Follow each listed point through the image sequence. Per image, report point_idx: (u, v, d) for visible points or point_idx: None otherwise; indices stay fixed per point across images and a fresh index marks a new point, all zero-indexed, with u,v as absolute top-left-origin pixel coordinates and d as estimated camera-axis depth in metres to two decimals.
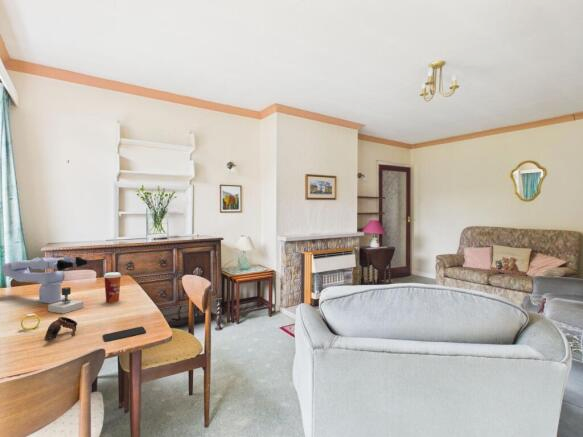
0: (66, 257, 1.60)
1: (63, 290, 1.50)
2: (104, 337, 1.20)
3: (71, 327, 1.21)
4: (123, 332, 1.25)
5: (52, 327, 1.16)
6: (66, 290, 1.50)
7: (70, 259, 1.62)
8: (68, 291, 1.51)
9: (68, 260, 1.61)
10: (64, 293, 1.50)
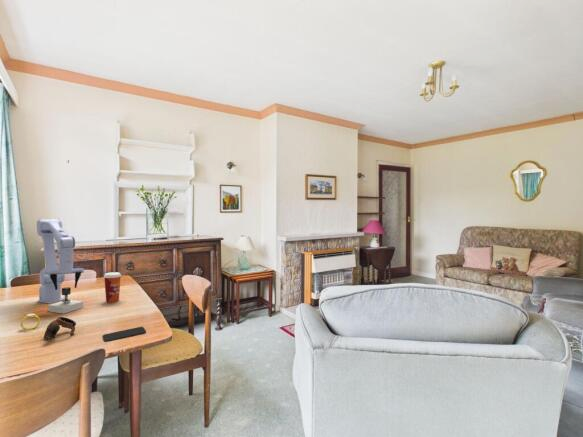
0: (65, 272, 1.48)
1: (63, 290, 1.50)
2: (104, 337, 1.20)
3: (70, 327, 1.21)
4: (123, 332, 1.25)
5: (51, 327, 1.16)
6: (66, 290, 1.50)
7: None
8: (68, 291, 1.51)
9: None
10: (64, 293, 1.50)
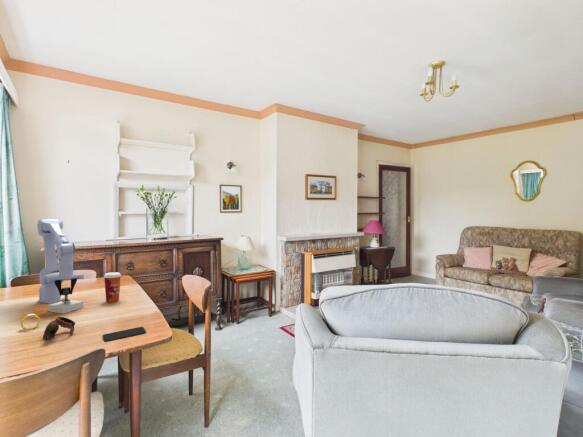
0: (65, 279, 1.48)
1: (63, 290, 1.50)
2: (104, 337, 1.20)
3: (69, 327, 1.21)
4: (123, 332, 1.25)
5: (50, 327, 1.16)
6: (66, 290, 1.50)
7: None
8: (68, 291, 1.51)
9: None
10: (64, 293, 1.50)
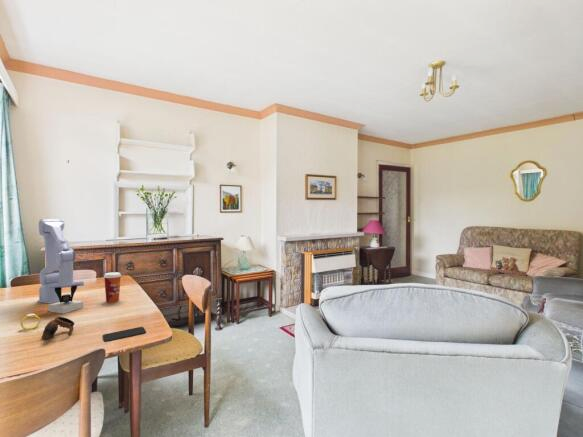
0: None
1: (63, 297, 1.50)
2: (104, 337, 1.20)
3: (68, 327, 1.22)
4: (123, 332, 1.25)
5: (49, 327, 1.16)
6: (66, 297, 1.50)
7: None
8: (68, 298, 1.51)
9: None
10: (64, 300, 1.50)
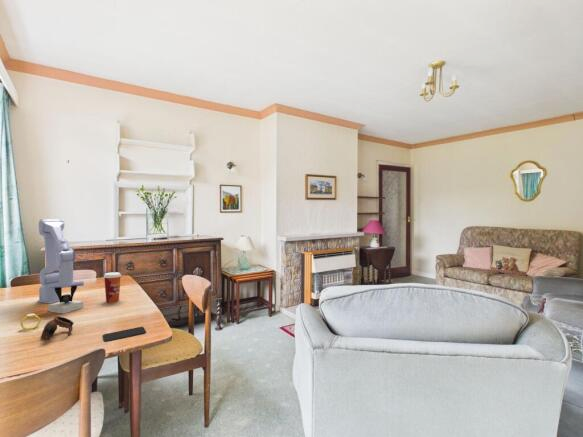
0: None
1: (63, 297, 1.50)
2: (104, 337, 1.20)
3: (67, 327, 1.22)
4: (123, 332, 1.25)
5: (48, 327, 1.16)
6: (66, 297, 1.50)
7: None
8: (68, 298, 1.51)
9: None
10: (64, 300, 1.50)
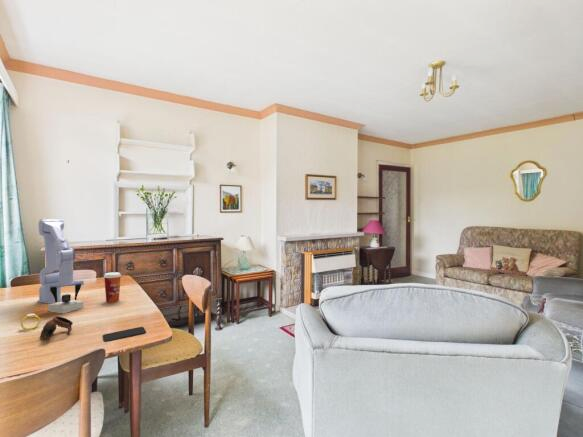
0: None
1: (63, 297, 1.50)
2: (104, 337, 1.20)
3: (66, 326, 1.22)
4: (123, 332, 1.25)
5: (48, 327, 1.16)
6: (66, 297, 1.50)
7: None
8: (68, 298, 1.51)
9: None
10: (64, 300, 1.50)
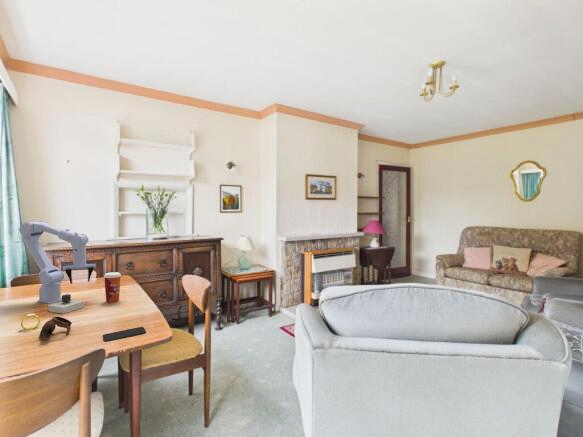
0: (79, 267, 1.60)
1: (63, 297, 1.50)
2: (104, 337, 1.20)
3: (66, 326, 1.22)
4: (123, 332, 1.25)
5: (47, 326, 1.16)
6: (66, 297, 1.50)
7: None
8: (68, 298, 1.51)
9: None
10: (64, 300, 1.50)
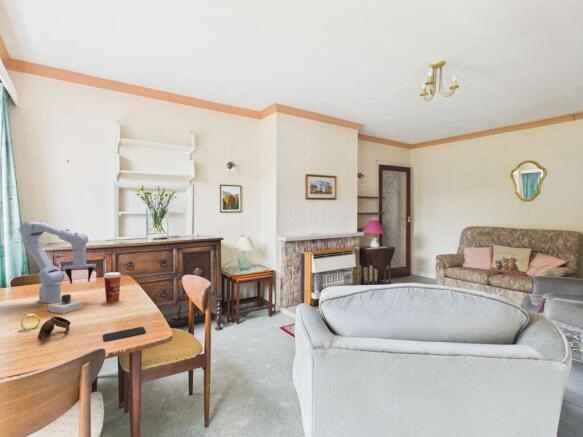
0: (79, 267, 1.60)
1: (63, 297, 1.50)
2: (104, 337, 1.20)
3: (64, 326, 1.22)
4: (123, 332, 1.25)
5: (46, 326, 1.16)
6: (66, 297, 1.50)
7: None
8: (68, 298, 1.51)
9: None
10: (64, 300, 1.50)
